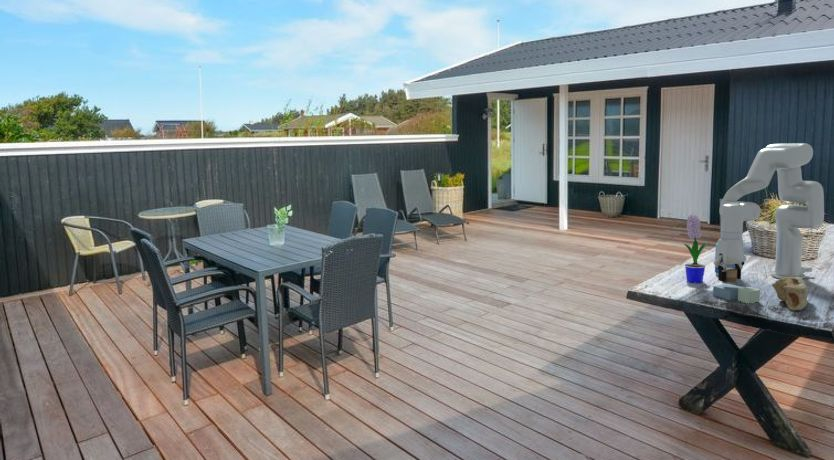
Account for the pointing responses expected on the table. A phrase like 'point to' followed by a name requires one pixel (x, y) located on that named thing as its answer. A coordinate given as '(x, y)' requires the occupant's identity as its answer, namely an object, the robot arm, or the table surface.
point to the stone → (792, 292)
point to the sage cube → (748, 295)
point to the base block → (726, 291)
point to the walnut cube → (731, 275)
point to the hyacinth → (694, 251)
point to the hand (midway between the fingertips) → (729, 279)
